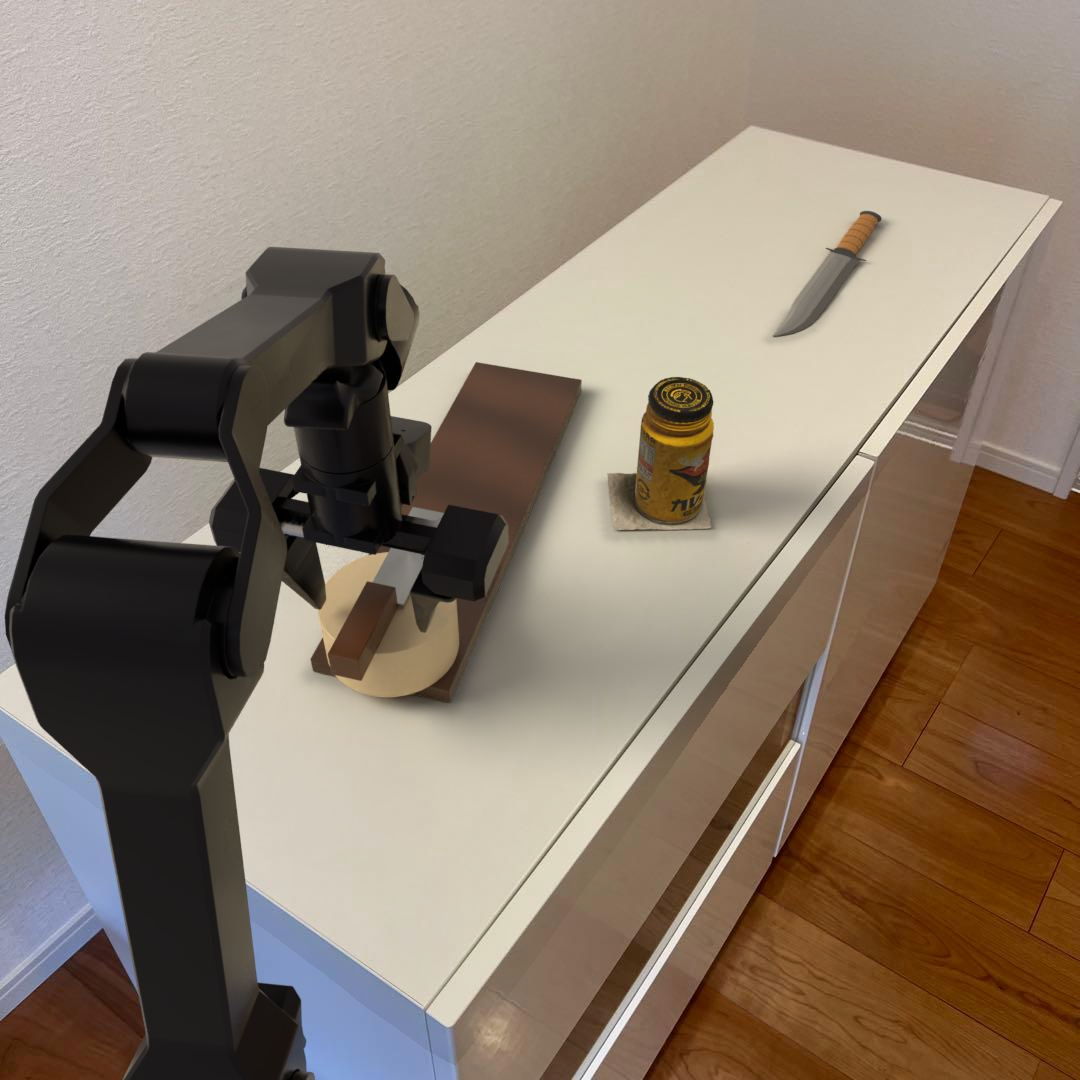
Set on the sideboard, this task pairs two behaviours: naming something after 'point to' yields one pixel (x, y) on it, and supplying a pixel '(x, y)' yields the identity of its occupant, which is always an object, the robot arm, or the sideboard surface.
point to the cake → (391, 636)
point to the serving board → (489, 474)
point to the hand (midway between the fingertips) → (372, 616)
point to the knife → (828, 276)
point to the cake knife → (376, 609)
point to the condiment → (668, 461)
